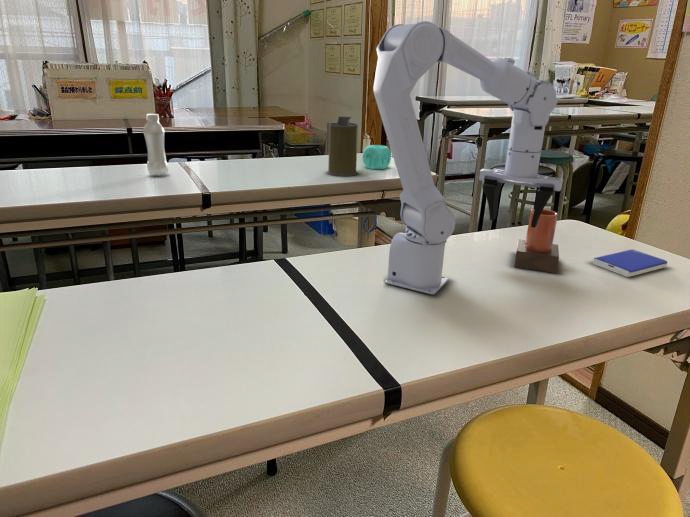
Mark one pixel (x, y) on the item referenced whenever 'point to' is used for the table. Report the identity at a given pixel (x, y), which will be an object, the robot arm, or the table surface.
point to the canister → (342, 147)
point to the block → (536, 258)
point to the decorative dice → (376, 157)
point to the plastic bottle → (155, 146)
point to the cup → (541, 231)
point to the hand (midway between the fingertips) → (512, 222)
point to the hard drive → (630, 262)
